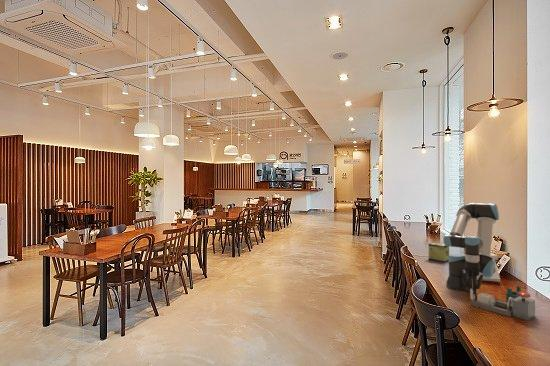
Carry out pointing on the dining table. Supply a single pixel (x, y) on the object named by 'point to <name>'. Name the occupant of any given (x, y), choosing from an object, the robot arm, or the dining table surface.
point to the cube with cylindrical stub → (486, 299)
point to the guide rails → (493, 307)
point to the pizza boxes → (495, 275)
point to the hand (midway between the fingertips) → (472, 299)
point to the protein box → (438, 252)
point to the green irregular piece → (512, 293)
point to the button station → (522, 306)
